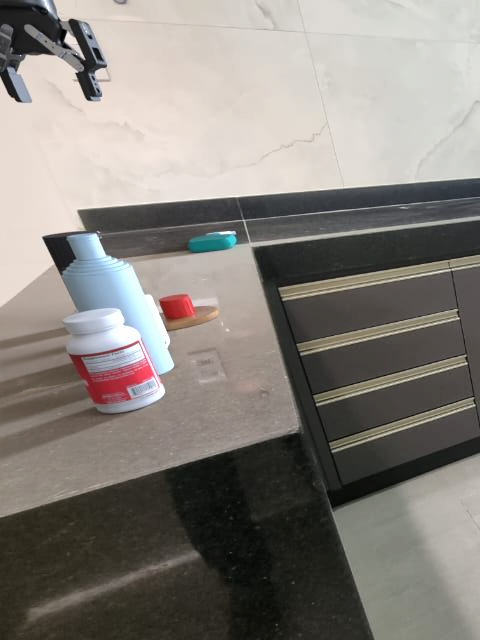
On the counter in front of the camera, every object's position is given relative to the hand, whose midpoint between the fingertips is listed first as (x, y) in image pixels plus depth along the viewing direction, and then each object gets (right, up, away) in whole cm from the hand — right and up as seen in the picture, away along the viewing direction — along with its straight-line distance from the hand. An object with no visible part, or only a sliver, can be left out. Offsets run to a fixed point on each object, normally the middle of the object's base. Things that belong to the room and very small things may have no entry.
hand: (59, 101), depth 78 cm
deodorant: (-6, -32, +13) cm, 35 cm away
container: (+13, -38, -2) cm, 40 cm away
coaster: (+8, -32, +13) cm, 35 cm away
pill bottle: (+26, -44, -15) cm, 53 cm away
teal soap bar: (-39, -4, +78) cm, 87 cm away
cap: (+8, -31, +12) cm, 34 cm away
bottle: (+19, -40, -7) cm, 45 cm away
